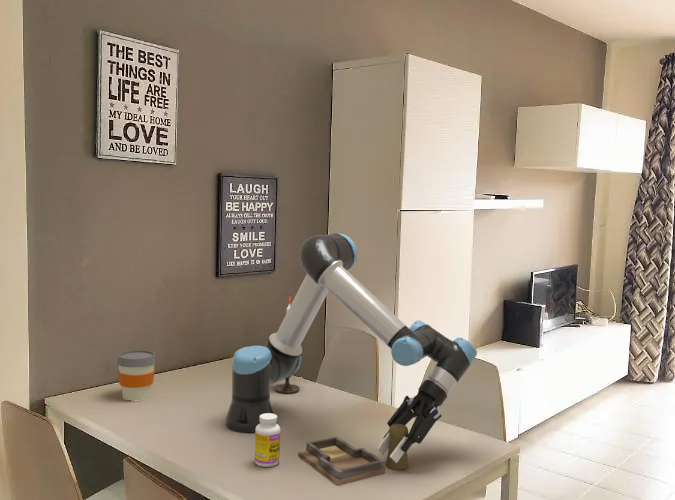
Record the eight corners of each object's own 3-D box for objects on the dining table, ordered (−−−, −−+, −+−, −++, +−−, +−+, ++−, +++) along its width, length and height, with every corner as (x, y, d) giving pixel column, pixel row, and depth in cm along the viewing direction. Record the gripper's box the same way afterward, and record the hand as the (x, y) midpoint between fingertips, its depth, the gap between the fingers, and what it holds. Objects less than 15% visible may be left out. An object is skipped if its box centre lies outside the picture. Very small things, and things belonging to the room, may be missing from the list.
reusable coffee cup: (163, 396, 224) (163, 353, 223) (134, 405, 214) (134, 361, 212) (138, 389, 231) (138, 348, 230) (109, 398, 220) (109, 355, 219)
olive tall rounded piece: (407, 471, 170) (409, 430, 169) (384, 468, 171) (386, 428, 170) (409, 461, 176) (411, 422, 175) (387, 459, 177) (389, 420, 176)
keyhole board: (298, 455, 178) (298, 444, 178) (343, 445, 186) (344, 435, 186) (336, 484, 161) (337, 472, 161) (385, 472, 169) (385, 460, 169)
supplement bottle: (269, 470, 168) (270, 422, 167) (249, 463, 172) (250, 416, 171) (284, 461, 174) (285, 415, 173) (265, 455, 177) (266, 410, 176)
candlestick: (285, 383, 243) (287, 291, 240) (307, 389, 237) (310, 295, 234) (265, 390, 234) (268, 295, 231) (288, 396, 228) (291, 299, 225)
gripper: (466, 404, 173) (415, 476, 166) (422, 386, 188) (374, 451, 181) (452, 388, 169) (400, 460, 162) (409, 370, 185) (359, 436, 177)
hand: (386, 455), depth 172 cm, fingers closed on olive tall rounded piece, 5 cm apart
